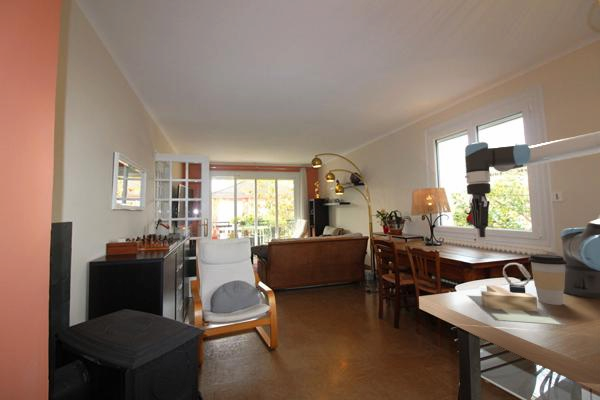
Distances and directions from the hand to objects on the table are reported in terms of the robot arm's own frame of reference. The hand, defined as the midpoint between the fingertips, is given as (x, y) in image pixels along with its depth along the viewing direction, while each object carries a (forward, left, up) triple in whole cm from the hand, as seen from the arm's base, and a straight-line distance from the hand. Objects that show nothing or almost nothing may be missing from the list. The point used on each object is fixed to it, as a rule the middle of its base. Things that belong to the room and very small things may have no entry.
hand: (481, 245), depth 103 cm
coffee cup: (-15, +10, -17) cm, 25 cm away
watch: (-10, +1, -17) cm, 20 cm away
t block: (0, +15, -17) cm, 22 cm away
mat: (0, +20, -17) cm, 26 cm away
